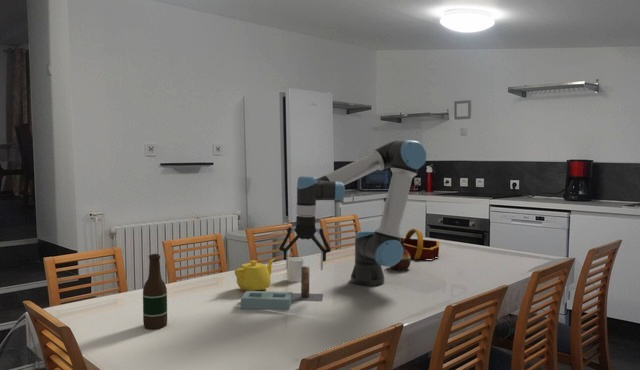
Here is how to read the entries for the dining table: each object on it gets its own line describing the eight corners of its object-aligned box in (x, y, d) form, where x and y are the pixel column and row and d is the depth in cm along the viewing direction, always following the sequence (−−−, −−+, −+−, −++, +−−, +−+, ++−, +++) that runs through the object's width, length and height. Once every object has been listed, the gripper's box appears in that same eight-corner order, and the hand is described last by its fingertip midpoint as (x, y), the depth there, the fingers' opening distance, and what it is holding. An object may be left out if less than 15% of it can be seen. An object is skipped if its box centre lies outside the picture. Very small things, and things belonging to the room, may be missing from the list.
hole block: (292, 302, 197) (292, 292, 196) (289, 310, 187) (289, 299, 186) (246, 301, 197) (246, 290, 197) (240, 309, 188) (240, 298, 187)
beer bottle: (146, 322, 172) (145, 252, 171) (169, 321, 173) (169, 252, 171) (140, 330, 164) (139, 257, 163) (164, 329, 165) (164, 257, 163)
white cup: (301, 283, 224) (301, 261, 223) (284, 282, 225) (284, 260, 225) (305, 279, 232) (305, 257, 231) (288, 278, 233) (288, 256, 232)
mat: (323, 294, 207) (323, 293, 207) (322, 302, 197) (322, 301, 197) (289, 293, 208) (289, 293, 208) (286, 301, 198) (286, 300, 198)
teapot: (283, 288, 215) (283, 260, 214) (244, 297, 202) (244, 267, 201) (265, 282, 225) (265, 254, 224) (226, 290, 212) (225, 261, 211)
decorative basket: (443, 265, 273) (448, 238, 272) (390, 256, 273) (394, 229, 272) (430, 253, 306) (435, 229, 306) (383, 245, 307) (387, 221, 306)
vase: (385, 269, 252) (386, 239, 251) (391, 265, 262) (391, 235, 261) (407, 272, 248) (408, 240, 246) (412, 267, 258) (413, 237, 257)
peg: (310, 296, 203) (310, 266, 202) (307, 298, 200) (307, 268, 199) (303, 295, 205) (303, 266, 204) (299, 297, 202) (300, 267, 201)
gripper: (337, 215, 203) (336, 267, 205) (275, 213, 204) (274, 265, 206) (337, 217, 196) (335, 272, 197) (273, 215, 197) (271, 269, 198)
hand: (304, 268), depth 201 cm, fingers open, 13 cm apart
